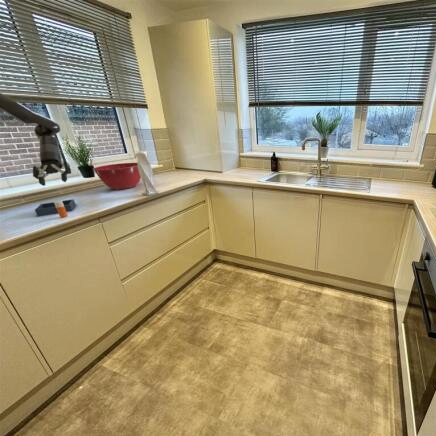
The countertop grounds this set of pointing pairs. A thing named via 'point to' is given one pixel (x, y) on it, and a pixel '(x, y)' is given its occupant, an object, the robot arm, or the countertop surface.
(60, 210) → the glue stick
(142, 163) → the white statue
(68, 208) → the tote
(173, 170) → the countertop surface
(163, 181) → the countertop surface
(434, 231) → the countertop surface
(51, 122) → the robot arm
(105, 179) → the mixing bowl
